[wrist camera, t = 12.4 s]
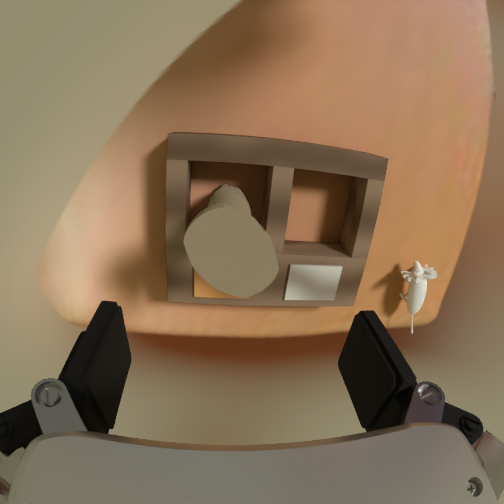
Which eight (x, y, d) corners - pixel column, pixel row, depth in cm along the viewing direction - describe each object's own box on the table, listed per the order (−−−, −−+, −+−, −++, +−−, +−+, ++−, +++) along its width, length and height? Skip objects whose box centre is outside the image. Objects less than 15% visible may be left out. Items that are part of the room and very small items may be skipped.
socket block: (175, 132, 28) (167, 133, 25) (371, 153, 31) (389, 159, 27) (172, 283, 36) (167, 303, 32) (342, 289, 38) (353, 307, 35)
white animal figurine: (395, 256, 37) (413, 272, 33) (425, 249, 37) (443, 264, 33) (386, 324, 42) (400, 343, 38) (414, 316, 42) (428, 333, 38)
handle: (229, 232, 34) (236, 309, 20) (191, 190, 31) (168, 243, 18) (263, 205, 33) (293, 267, 19) (225, 161, 30) (228, 191, 17)
